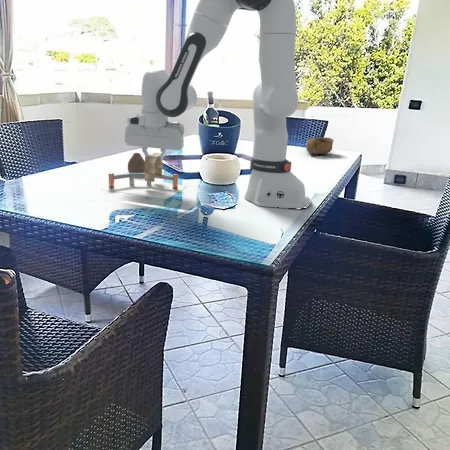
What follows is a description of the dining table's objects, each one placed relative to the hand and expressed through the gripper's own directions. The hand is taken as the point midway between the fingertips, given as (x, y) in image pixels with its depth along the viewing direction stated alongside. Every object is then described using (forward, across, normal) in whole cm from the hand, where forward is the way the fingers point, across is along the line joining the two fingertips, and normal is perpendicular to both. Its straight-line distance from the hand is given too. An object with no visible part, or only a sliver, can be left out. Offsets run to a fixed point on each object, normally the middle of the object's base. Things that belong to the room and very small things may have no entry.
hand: (153, 160), depth 170 cm
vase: (+10, +11, -14) cm, 20 cm away
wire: (+9, +2, +5) cm, 10 cm away
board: (+10, +2, +3) cm, 10 cm away
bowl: (+10, -57, -94) cm, 110 cm away
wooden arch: (+6, 0, 0) cm, 6 cm away
